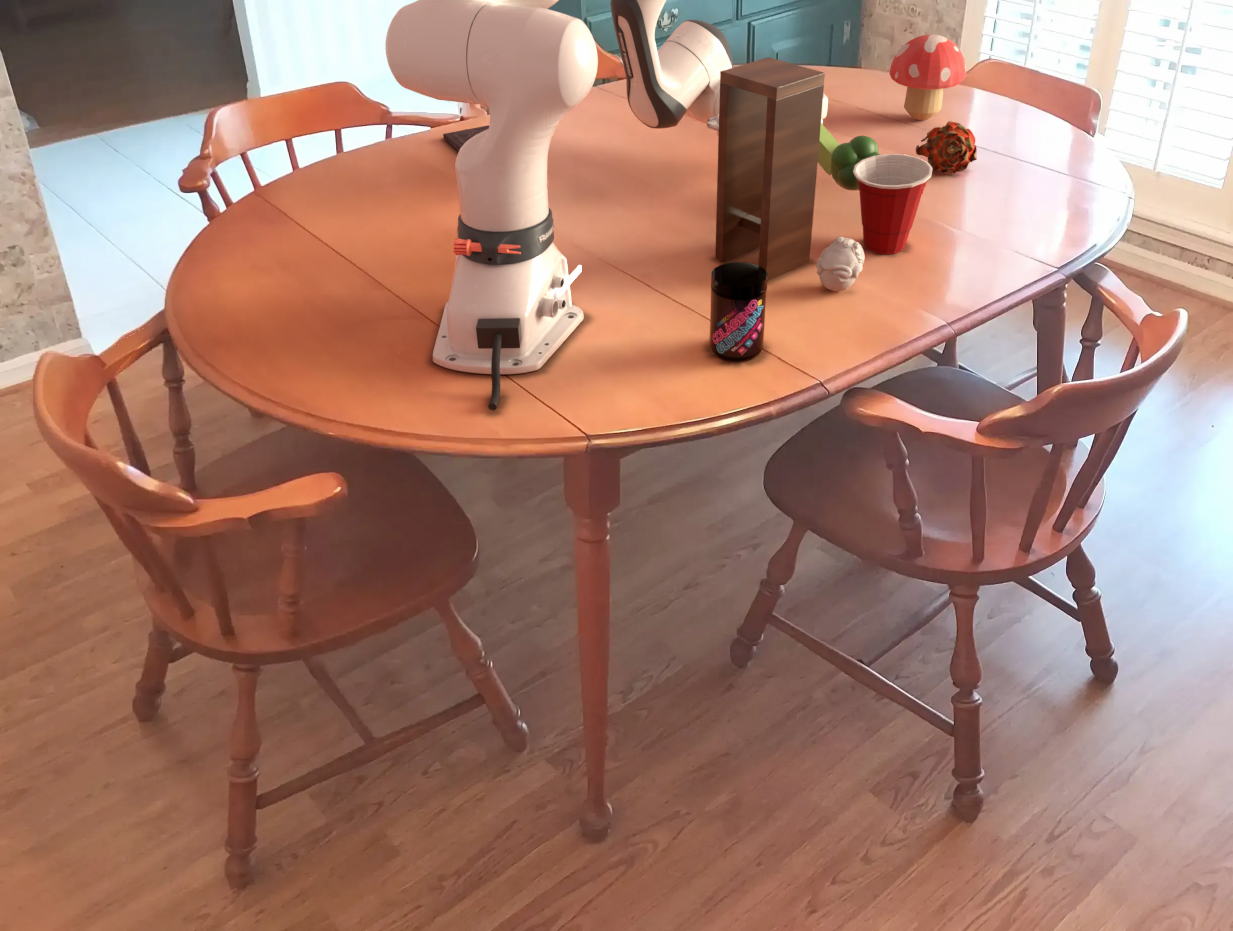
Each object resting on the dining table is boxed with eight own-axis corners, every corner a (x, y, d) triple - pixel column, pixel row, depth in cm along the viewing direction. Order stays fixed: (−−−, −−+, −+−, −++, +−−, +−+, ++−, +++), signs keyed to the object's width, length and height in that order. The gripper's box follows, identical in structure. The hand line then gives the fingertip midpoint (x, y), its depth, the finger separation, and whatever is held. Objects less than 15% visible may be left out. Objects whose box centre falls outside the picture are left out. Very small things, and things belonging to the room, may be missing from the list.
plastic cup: (829, 246, 160) (837, 166, 153) (877, 225, 165) (886, 147, 158) (889, 270, 153) (899, 187, 146) (936, 247, 158) (949, 167, 151)
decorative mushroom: (945, 136, 196) (958, 49, 187) (873, 125, 201) (883, 40, 193) (967, 114, 205) (981, 31, 196) (898, 104, 210) (908, 22, 202)
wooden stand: (809, 262, 156) (825, 72, 140) (765, 281, 151) (776, 88, 135) (758, 241, 162) (768, 57, 146) (714, 259, 157) (720, 71, 142)
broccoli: (879, 194, 170) (907, 155, 163) (841, 210, 165) (868, 170, 158) (811, 116, 174) (835, 75, 167) (772, 130, 170) (796, 88, 163)
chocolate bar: (488, 125, 204) (526, 154, 191) (489, 130, 204) (527, 160, 191) (443, 134, 201) (478, 164, 188) (443, 139, 201) (479, 169, 188)
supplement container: (698, 354, 136) (700, 277, 129) (727, 332, 140) (729, 257, 134) (745, 369, 132) (749, 292, 126) (773, 346, 137) (778, 270, 130)
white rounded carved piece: (871, 287, 149) (877, 239, 145) (840, 304, 145) (845, 256, 141) (834, 273, 152) (839, 226, 148) (803, 290, 149) (807, 242, 144)
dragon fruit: (957, 194, 178) (924, 178, 189) (999, 158, 177) (964, 144, 187) (931, 154, 174) (899, 140, 185) (974, 117, 173) (939, 105, 183)
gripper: (700, 103, 171) (764, 124, 162) (789, 75, 181) (854, 93, 173) (699, 142, 175) (762, 165, 166) (787, 113, 185) (850, 133, 176)
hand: (810, 128), depth 169 cm, fingers closed on broccoli, 3 cm apart
